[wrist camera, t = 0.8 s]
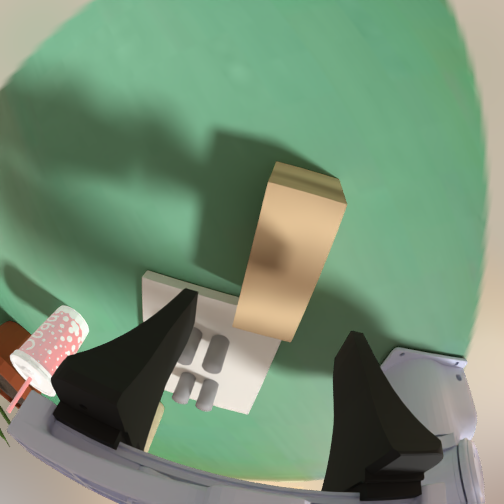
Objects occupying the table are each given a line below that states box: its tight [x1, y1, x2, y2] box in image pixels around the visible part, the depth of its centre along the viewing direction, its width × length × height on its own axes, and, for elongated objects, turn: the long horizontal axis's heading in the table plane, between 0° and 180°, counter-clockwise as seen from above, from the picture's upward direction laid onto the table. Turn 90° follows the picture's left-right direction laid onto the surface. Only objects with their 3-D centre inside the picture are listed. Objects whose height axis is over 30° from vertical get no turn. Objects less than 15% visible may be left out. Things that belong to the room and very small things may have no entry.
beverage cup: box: [7, 305, 89, 413], centre depth 24 cm, size 6×6×14 cm
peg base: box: [142, 270, 281, 414], centre depth 27 cm, size 12×16×4 cm
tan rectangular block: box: [232, 161, 347, 342], centre depth 19 cm, size 10×4×4 cm, turn 168°
